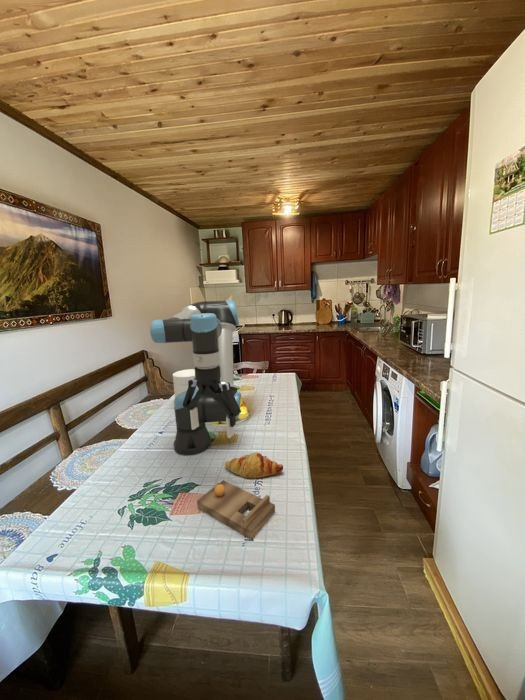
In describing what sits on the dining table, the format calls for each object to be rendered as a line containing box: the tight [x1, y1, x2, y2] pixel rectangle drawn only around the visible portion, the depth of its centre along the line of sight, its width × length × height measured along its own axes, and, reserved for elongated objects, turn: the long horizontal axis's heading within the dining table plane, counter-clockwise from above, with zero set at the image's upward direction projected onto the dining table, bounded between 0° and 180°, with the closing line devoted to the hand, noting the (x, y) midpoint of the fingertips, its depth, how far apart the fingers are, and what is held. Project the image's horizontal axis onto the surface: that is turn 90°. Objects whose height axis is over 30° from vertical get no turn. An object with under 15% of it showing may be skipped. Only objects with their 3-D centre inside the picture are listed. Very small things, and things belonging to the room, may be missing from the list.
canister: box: [172, 368, 199, 398], centre depth 159 cm, size 16×16×20 cm
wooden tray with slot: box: [196, 480, 276, 540], centre depth 82 cm, size 20×11×4 cm, turn 55°
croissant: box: [224, 451, 284, 479], centre depth 100 cm, size 21×10×8 cm, turn 79°
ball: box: [214, 483, 225, 496], centre depth 85 cm, size 3×3×3 cm
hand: (212, 431), depth 89 cm, fingers open, 13 cm apart
